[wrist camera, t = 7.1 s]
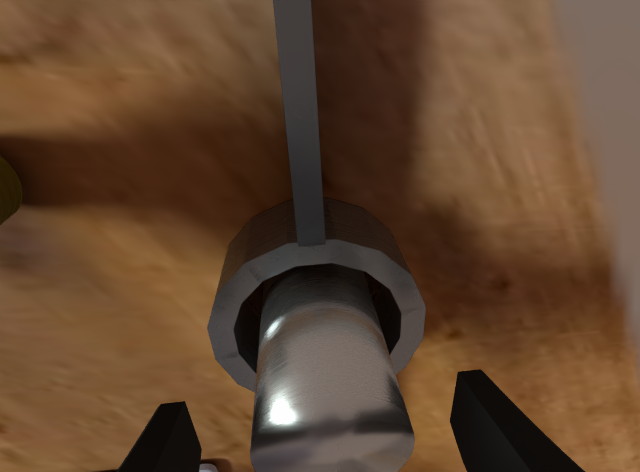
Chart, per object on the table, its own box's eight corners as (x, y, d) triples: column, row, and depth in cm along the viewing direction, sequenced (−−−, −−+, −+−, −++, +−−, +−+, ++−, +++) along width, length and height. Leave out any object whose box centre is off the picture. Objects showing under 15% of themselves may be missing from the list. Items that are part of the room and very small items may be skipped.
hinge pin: (366, 312, 16) (414, 484, 10) (273, 325, 16) (267, 506, 10) (360, 231, 14) (415, 385, 8) (254, 246, 14) (232, 412, 8)
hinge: (392, 431, 21) (407, 491, 18) (259, 446, 20) (256, 509, 18) (418, -44, 10) (462, -67, 8) (152, -28, 10) (106, -45, 8)
